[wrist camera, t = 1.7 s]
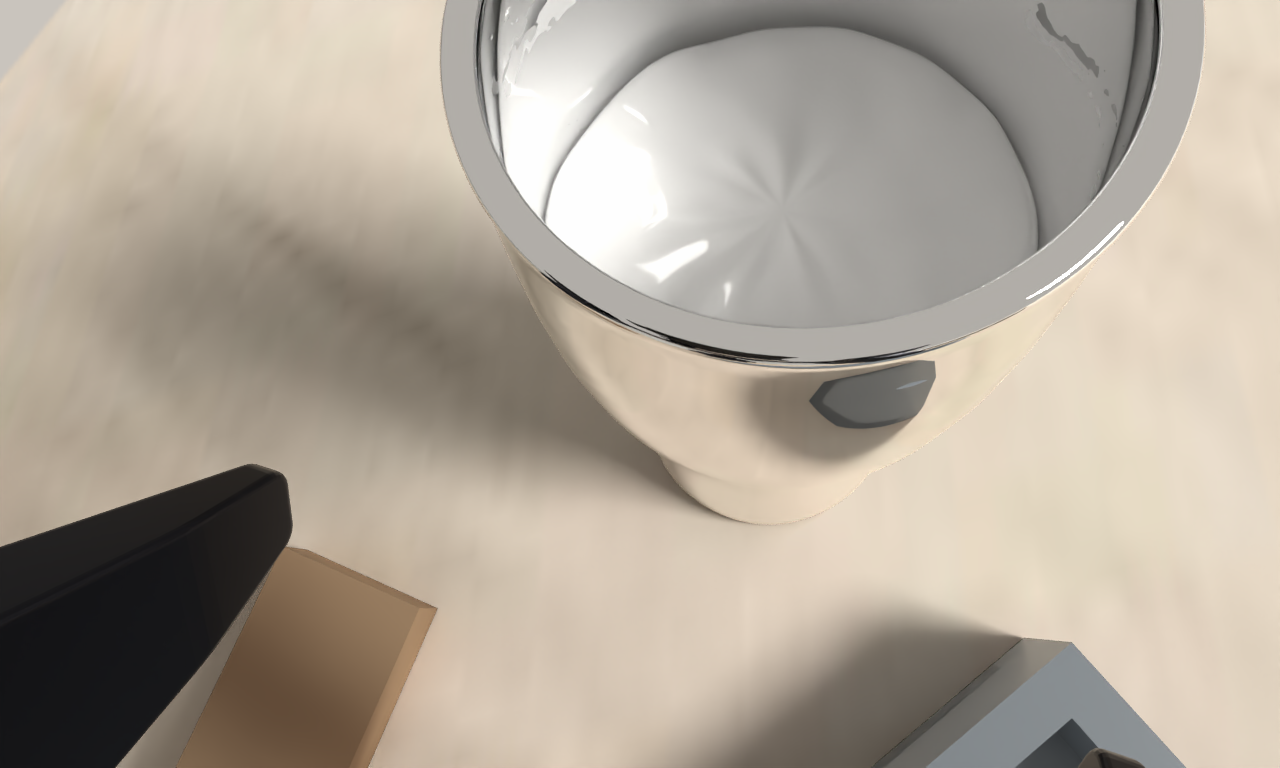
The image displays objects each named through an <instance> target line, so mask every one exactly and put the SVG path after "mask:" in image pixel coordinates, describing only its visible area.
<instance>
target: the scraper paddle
mask: <svg viewBox="0 0 1280 768" xmlns="http://www.w3.org/2000/svg"><path fill="white" fill-rule="evenodd" d="M436 611H437V608H436V607H433V606H431V605H429V604H427V603H424V602H422V601H420V600H418V599H415V598H413V597H411V596H409V595H406V594H404V593H402V592H400V591H398V590H395V589H393V588H391V587H389V586H386V585H384V584H382V583H380V582H377V581H375V580H373V579H371V578H368V577H366V576H364V575H362V574H360V573H357V572H355V571H353V570H351V569H348V568H346V567H344V566H342V565H339V564H337V563H335V562H333V561H331V560H328V559H326V558H324V557H322V556H319V555H317V554H315V553H313V552H310V551H308V550H304V549H297V548H290V547H285V548H284V550H283V551H282V553H281V554H280V555H279V557H278V558H277V560H276V561H275V563H274V565H273V567H272V569H271V571H270V573H269V575H268V578H267V580H266V582H265V584H264V586H263V588H262V590H261V592H260V594H259V596H258V598H257V600H256V602H255V604H254V606H253V609H252V611H251V613H250V615H249V617H248V619H247V621H246V623H245V625H244V627H243V629H242V631H241V633H240V635H239V637H238V640H237V642H236V644H235V646H234V648H233V650H232V652H231V654H230V656H229V658H228V660H227V662H226V664H225V666H224V668H223V671H222V673H221V675H220V677H219V679H218V681H217V683H216V685H215V687H214V689H213V691H212V693H211V695H210V697H209V699H208V702H207V704H206V706H205V708H204V710H203V712H202V714H201V716H200V718H199V720H198V722H197V724H196V726H195V728H194V731H193V733H192V735H191V737H190V739H189V741H188V743H187V745H186V747H185V749H184V751H183V753H182V755H181V757H180V759H179V762H178V764H177V766H176V768H368V766H369V764H370V761H371V759H372V757H373V754H374V752H375V750H376V748H377V745H378V743H379V741H380V738H381V736H382V734H383V732H384V729H385V727H386V725H387V722H388V720H389V718H390V716H391V713H392V711H393V709H394V706H395V704H396V702H397V700H398V697H399V695H400V693H401V690H402V688H403V686H404V684H405V681H406V679H407V677H408V675H409V672H410V670H411V668H412V665H413V663H414V661H415V659H416V656H417V654H418V652H419V649H420V647H421V645H422V643H423V640H424V638H425V636H426V633H427V631H428V629H429V627H430V624H431V622H432V620H433V617H434V615H435V613H436Z"/></svg>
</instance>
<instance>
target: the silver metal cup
mask: <svg viewBox="0 0 1280 768" xmlns="http://www.w3.org/2000/svg"><path fill="white" fill-rule="evenodd" d="M1205 49H1206V11H1205V0H446V2H445V8H444V13H443V18H442V26H441V36H440V82H441V92H442V99H443V105H444V111H445V115H446V120H447V125H448V128H449V132H450V136H451V139H452V142H453V145H454V148H455V151H456V154H457V157H458V159H459V162H460V164H461V167H462V169H463V171H464V174H465V176H466V178H467V180H468V182H469V184H470V186H471V188H472V190H473V192H474V194H475V195H476V197H477V199H478V201H479V202H480V204H481V205H482V207H483V209H484V210H485V212H486V213H487V215H488V216H489V218H490V219H491V220H492V222H493V223H494V225H495V228H496V230H497V232H498V235H499V237H500V239H501V242H502V244H503V246H504V249H505V251H506V253H507V256H508V258H509V260H510V262H511V264H512V266H513V268H514V270H515V272H516V274H517V276H518V278H519V281H520V283H521V285H522V287H523V289H524V291H525V293H526V295H527V297H528V299H529V301H530V303H531V305H532V307H533V309H534V311H535V313H536V315H537V316H538V318H539V320H540V321H541V323H542V325H543V326H544V328H545V330H546V331H547V333H548V334H549V336H550V338H551V339H552V341H553V343H554V344H555V346H556V347H557V349H558V351H559V352H560V354H561V356H562V357H563V359H564V360H565V362H566V363H567V365H568V366H569V368H570V369H571V371H572V372H573V373H574V375H575V376H576V377H577V378H578V380H579V381H580V382H581V383H582V384H583V386H584V387H585V388H586V389H587V390H588V391H589V393H590V394H591V395H592V396H593V397H594V398H595V399H596V400H597V401H598V403H599V404H600V405H601V406H602V407H603V408H604V409H605V410H606V411H607V412H608V413H609V414H610V416H611V417H612V418H613V419H614V420H615V421H616V422H617V423H619V424H620V425H621V426H622V427H623V428H624V429H625V430H626V431H628V432H629V433H630V434H631V435H632V436H634V437H635V438H636V439H637V440H639V441H640V442H642V443H643V444H644V445H646V446H647V447H649V448H650V449H652V450H653V451H655V452H657V453H658V454H659V456H660V458H661V460H662V462H663V464H664V466H665V467H666V469H667V471H668V472H669V473H670V475H671V476H672V478H673V479H674V480H675V481H676V482H677V484H678V485H679V486H680V487H681V488H682V489H683V490H684V491H685V492H686V493H687V494H688V495H690V496H691V497H692V498H693V499H695V500H696V501H697V502H699V503H700V504H702V505H703V506H705V507H707V508H708V509H710V510H712V511H714V512H716V513H718V514H721V515H723V516H726V517H728V518H731V519H735V520H738V521H742V522H747V523H753V524H762V525H777V524H787V523H792V522H797V521H801V520H804V519H807V518H810V517H813V516H815V515H818V514H820V513H822V512H824V511H826V510H828V509H830V508H832V507H834V506H835V505H837V504H839V503H840V502H841V501H843V500H844V499H846V498H847V497H848V496H849V495H850V494H852V493H853V492H854V491H855V490H856V489H857V488H858V487H859V486H860V484H861V483H862V482H863V481H864V480H865V478H866V477H867V476H868V474H870V473H872V472H875V471H878V470H880V469H883V468H885V467H887V466H889V465H892V464H894V463H896V462H898V461H900V460H902V459H904V458H905V457H907V456H909V455H911V454H913V453H914V452H916V451H917V450H919V449H921V448H922V447H924V446H925V445H927V444H928V443H930V442H931V441H932V440H934V439H935V438H936V437H938V436H939V435H941V434H942V433H943V432H945V431H946V430H947V429H949V428H950V427H951V426H953V425H954V424H956V423H957V422H958V421H960V420H961V419H962V418H963V417H965V416H966V415H967V414H969V413H970V412H971V411H972V410H973V409H974V408H976V407H977V406H978V405H979V404H980V403H981V402H982V401H983V400H984V399H985V398H986V397H987V396H988V395H989V394H990V393H991V392H992V391H993V390H994V389H995V388H996V387H997V386H998V385H999V384H1000V383H1001V382H1002V381H1003V380H1004V379H1005V378H1006V376H1007V375H1008V374H1009V373H1010V372H1011V371H1012V370H1013V369H1014V368H1015V367H1016V366H1017V365H1018V364H1019V363H1020V362H1021V360H1022V359H1023V358H1024V357H1025V356H1026V355H1027V354H1028V353H1029V352H1030V350H1031V349H1032V348H1033V347H1034V346H1035V345H1036V343H1037V342H1038V341H1039V340H1040V338H1041V337H1042V336H1043V334H1044V333H1045V332H1046V330H1047V329H1048V328H1049V327H1050V325H1051V324H1052V323H1053V321H1054V320H1055V319H1056V317H1057V316H1058V315H1059V313H1060V312H1061V311H1062V309H1063V308H1064V307H1065V306H1066V304H1067V303H1068V302H1069V300H1070V299H1071V298H1072V296H1073V295H1074V293H1075V292H1076V291H1077V289H1078V288H1079V286H1080V285H1081V284H1082V282H1083V281H1084V279H1085V278H1086V276H1087V275H1088V274H1089V272H1090V271H1091V269H1092V268H1093V266H1094V265H1095V264H1096V262H1097V261H1098V259H1099V258H1100V257H1101V256H1102V255H1103V254H1104V253H1105V252H1106V251H1107V250H1108V249H1109V248H1110V247H1111V246H1112V245H1113V244H1114V243H1115V242H1116V241H1117V240H1118V239H1119V238H1120V237H1121V236H1122V235H1123V233H1124V232H1125V231H1126V230H1127V229H1128V228H1129V227H1130V225H1131V224H1132V223H1133V222H1134V220H1135V219H1136V218H1137V217H1138V216H1139V214H1140V213H1141V212H1142V210H1143V209H1144V208H1145V206H1146V205H1147V204H1148V202H1149V201H1150V200H1151V198H1152V196H1153V195H1154V193H1155V192H1156V190H1157V189H1158V187H1159V186H1160V184H1161V183H1162V181H1163V179H1164V177H1165V176H1166V174H1167V172H1168V170H1169V169H1170V167H1171V165H1172V163H1173V161H1174V159H1175V157H1176V155H1177V153H1178V151H1179V148H1180V146H1181V144H1182V141H1183V139H1184V136H1185V134H1186V132H1187V129H1188V126H1189V123H1190V121H1191V118H1192V115H1193V112H1194V108H1195V105H1196V101H1197V98H1198V93H1199V89H1200V84H1201V79H1202V73H1203V67H1204V58H1205Z"/></svg>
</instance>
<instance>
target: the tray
mask: <svg viewBox="0 0 1280 768" xmlns="http://www.w3.org/2000/svg"><path fill="white" fill-rule="evenodd" d="M1095 748H1102V749H1105V750H1108V751H1111V752H1114V753H1117V754H1120V755H1123V756H1126V757H1129V758H1132V759H1135V760H1137V761H1138V762H1140V763H1141V764H1142V765H1143V766H1144V767H1145V768H1186V767H1185V766H1184V765H1183V764H1182V763H1181V762H1180V760H1179V759H1178V758H1177V757H1176V756H1175V755H1174V754H1173V753H1172V752H1171V751H1170V749H1169V748H1168V747H1167V746H1166V745H1165V744H1164V743H1163V742H1162V741H1161V740H1160V739H1159V737H1158V736H1157V735H1156V734H1155V733H1154V732H1153V731H1152V730H1151V729H1150V728H1149V726H1148V725H1147V724H1146V723H1145V722H1144V721H1143V720H1142V719H1141V718H1140V717H1139V716H1138V714H1137V713H1136V712H1135V711H1134V710H1133V709H1132V708H1131V707H1130V706H1129V705H1128V703H1127V702H1126V701H1125V700H1124V699H1123V698H1122V697H1121V696H1120V695H1119V694H1118V693H1117V691H1116V690H1115V689H1114V688H1113V687H1112V686H1111V685H1110V684H1109V683H1108V682H1107V681H1106V679H1105V678H1104V677H1103V676H1102V675H1101V674H1100V673H1099V672H1098V671H1097V670H1096V668H1095V667H1094V666H1093V665H1092V664H1091V663H1090V662H1089V661H1088V660H1087V659H1086V658H1085V656H1084V655H1083V654H1082V653H1081V652H1080V651H1079V650H1078V649H1077V648H1076V647H1075V645H1074V644H1073V643H1072V642H1062V641H1052V640H1042V639H1032V638H1023V639H1022V640H1021V641H1020V642H1018V643H1017V644H1016V645H1015V646H1014V647H1012V648H1011V649H1010V650H1009V651H1008V652H1007V653H1005V654H1004V655H1003V656H1002V657H1001V658H1000V659H998V660H997V661H996V662H995V663H994V664H993V665H991V666H990V667H989V668H988V669H987V670H985V671H984V672H983V673H982V674H981V675H980V676H978V677H977V678H976V679H975V680H974V681H973V682H971V683H970V684H969V685H968V686H967V687H965V688H964V689H963V690H962V691H961V692H960V693H958V694H957V695H956V696H955V697H954V698H953V699H951V700H950V701H949V702H948V703H947V704H945V705H944V706H943V707H942V708H941V709H940V710H938V711H937V712H936V713H935V714H934V715H933V716H931V717H930V718H929V719H928V720H927V721H925V722H924V723H923V724H922V725H921V726H920V727H918V728H917V729H916V730H915V731H914V732H913V733H911V734H910V735H909V736H908V737H907V738H905V739H904V740H903V741H902V742H901V743H900V744H898V745H897V746H896V747H895V748H894V749H893V750H891V751H890V752H889V753H888V754H887V755H885V756H884V757H883V758H882V759H881V760H880V761H878V762H877V763H876V764H875V765H874V766H873V767H871V768H1078V766H1079V765H1080V763H1081V762H1082V760H1083V759H1084V757H1085V756H1086V755H1087V754H1088V753H1089V751H1091V750H1093V749H1095Z"/></svg>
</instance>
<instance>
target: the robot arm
mask: <svg viewBox="0 0 1280 768" xmlns="http://www.w3.org/2000/svg"><path fill="white" fill-rule="evenodd" d="M292 527H293V522H292V514H291V506H290V498H289V490H288V483H287V480H286V478H285V477H284V475H283V474H282V473H280V472H278V471H275V470H272V469H269V468H266V467H263V466H260V465H257V464H247V465H244V466H240V467H237V468H234V469H231V470H228V471H225V472H222V473H219V474H216V475H213V476H211V477H208V478H205V479H202V480H199V481H196V482H193V483H190V484H187V485H184V486H181V487H178V488H175V489H172V490H169V491H166V492H163V493H160V494H157V495H154V496H151V497H148V498H145V499H142V500H139V501H136V502H133V503H130V504H127V505H124V506H121V507H118V508H115V509H112V510H109V511H106V512H103V513H100V514H97V515H94V516H91V517H88V518H85V519H82V520H79V521H76V522H73V523H70V524H67V525H64V526H61V527H58V528H55V529H52V530H49V531H46V532H43V533H41V534H38V535H35V536H32V537H29V538H26V539H23V540H20V541H17V542H14V543H11V544H8V545H5V546H2V547H0V768H116V766H117V765H118V764H119V763H120V762H121V760H122V759H123V758H124V757H125V756H126V754H127V753H128V752H129V751H130V750H131V749H132V747H133V746H134V745H135V744H136V743H137V741H138V740H139V739H140V738H141V737H142V736H143V734H144V733H145V732H146V731H147V730H148V728H149V727H150V726H151V725H152V724H153V722H154V721H155V720H156V719H157V718H158V717H159V715H160V714H161V713H162V712H163V711H164V709H165V708H166V707H167V706H168V705H169V704H170V702H171V701H172V700H173V699H174V698H175V696H176V695H177V694H178V693H179V692H180V690H181V689H182V688H183V687H184V686H185V685H186V683H187V682H188V681H189V680H190V679H191V677H192V676H193V675H194V674H195V673H196V672H197V670H198V669H199V668H200V667H201V665H202V664H203V663H204V662H205V660H206V659H207V658H208V657H209V655H210V654H211V653H212V652H213V650H214V649H215V648H216V646H217V645H218V644H219V642H220V641H221V639H222V638H223V637H224V635H225V634H226V633H227V631H228V630H229V628H230V627H231V625H232V624H233V622H234V621H235V619H236V618H237V617H238V615H239V614H240V612H241V611H242V609H243V608H244V606H245V605H246V603H247V602H248V601H249V599H250V598H251V596H252V595H253V593H254V592H255V590H256V589H257V587H258V586H259V585H260V583H261V582H262V580H263V579H264V577H265V576H266V574H267V573H268V571H269V570H270V569H271V567H272V566H273V564H274V563H275V561H276V560H277V558H278V557H279V555H280V554H281V553H282V551H283V550H284V548H285V547H286V545H287V543H288V541H289V539H290V536H291V533H292ZM1078 768H1145V767H1144V766H1143V765H1142V764H1141V763H1140V762H1138V761H1137V760H1135V759H1132V758H1129V757H1126V756H1123V755H1120V754H1117V753H1114V752H1111V751H1108V750H1105V749H1102V748H1095V749H1093V750H1091V751H1089V753H1088V754H1087V755H1086V756H1085V757H1084V759H1083V760H1082V762H1081V763H1080V765H1079V766H1078Z"/></svg>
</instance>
